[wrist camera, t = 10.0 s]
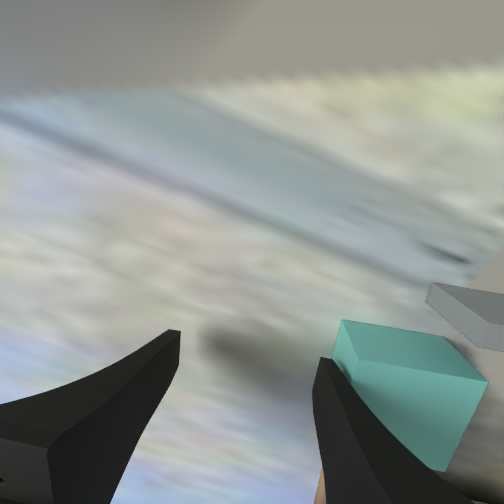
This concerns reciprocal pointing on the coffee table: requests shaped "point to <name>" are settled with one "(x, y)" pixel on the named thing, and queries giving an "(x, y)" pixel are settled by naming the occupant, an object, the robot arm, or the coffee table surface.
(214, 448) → the coffee table surface
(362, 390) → the turquoise cube box
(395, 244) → the coffee table surface
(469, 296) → the frame
